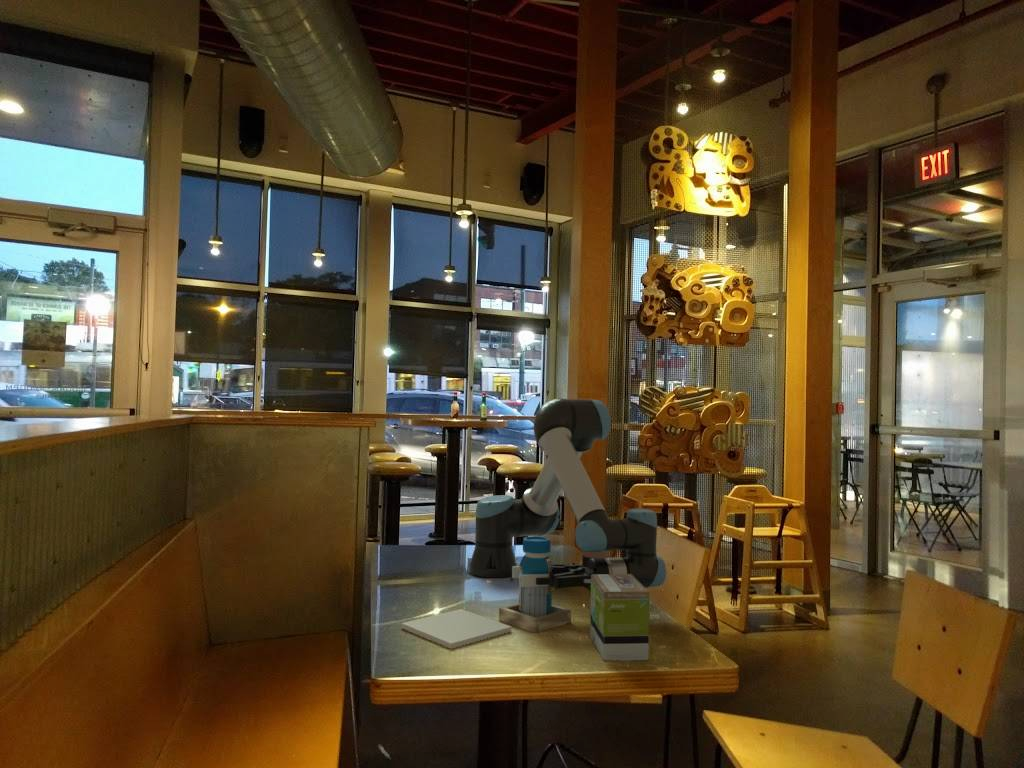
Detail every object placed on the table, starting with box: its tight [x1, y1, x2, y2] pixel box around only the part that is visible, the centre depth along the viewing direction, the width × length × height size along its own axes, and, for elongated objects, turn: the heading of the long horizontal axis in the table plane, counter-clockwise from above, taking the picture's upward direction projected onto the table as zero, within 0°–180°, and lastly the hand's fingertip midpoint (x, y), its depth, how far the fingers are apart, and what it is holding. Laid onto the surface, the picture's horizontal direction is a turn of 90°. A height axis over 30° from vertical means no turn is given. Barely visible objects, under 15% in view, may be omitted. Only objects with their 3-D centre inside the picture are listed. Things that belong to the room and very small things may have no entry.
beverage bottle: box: [518, 536, 553, 618], centre depth 173 cm, size 8×8×20 cm
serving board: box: [401, 608, 512, 650], centre depth 164 cm, size 18×18×1 cm
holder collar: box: [498, 602, 572, 634], centre depth 173 cm, size 12×12×3 cm
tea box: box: [589, 574, 650, 662], centre depth 155 cm, size 15×10×15 cm, turn 5°
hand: (517, 576), depth 172 cm, fingers closed on beverage bottle, 8 cm apart
